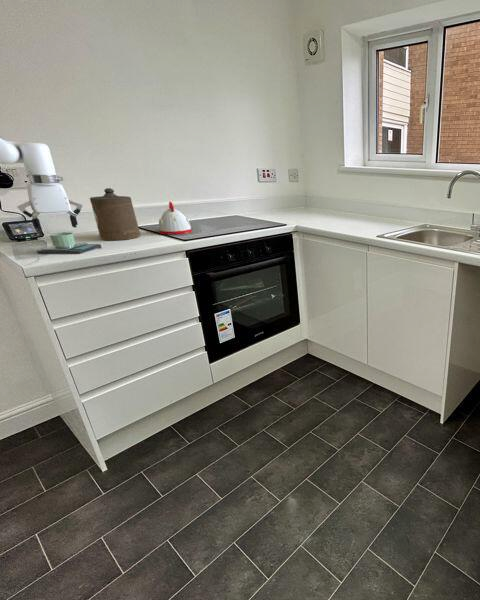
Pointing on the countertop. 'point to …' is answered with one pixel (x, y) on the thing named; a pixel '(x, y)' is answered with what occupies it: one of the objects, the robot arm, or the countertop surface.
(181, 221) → the white dome
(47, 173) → the robot arm
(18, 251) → the countertop surface
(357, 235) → the countertop surface
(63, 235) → the bowl
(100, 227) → the wooden container
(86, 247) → the scale
